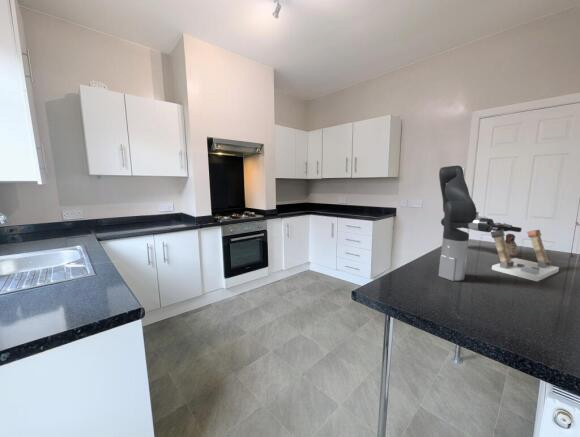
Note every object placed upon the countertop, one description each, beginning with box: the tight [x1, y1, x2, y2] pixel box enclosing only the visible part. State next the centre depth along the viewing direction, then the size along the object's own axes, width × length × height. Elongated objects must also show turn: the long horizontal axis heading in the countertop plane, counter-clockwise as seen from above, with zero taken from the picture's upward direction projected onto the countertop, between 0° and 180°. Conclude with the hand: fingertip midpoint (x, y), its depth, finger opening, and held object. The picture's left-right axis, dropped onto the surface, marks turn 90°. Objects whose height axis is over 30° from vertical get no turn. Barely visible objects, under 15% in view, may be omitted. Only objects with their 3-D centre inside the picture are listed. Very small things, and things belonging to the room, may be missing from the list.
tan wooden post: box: [490, 230, 512, 266], centre depth 115 cm, size 6×3×17 cm, turn 118°
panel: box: [491, 257, 560, 282], centre depth 115 cm, size 24×16×4 cm, turn 118°
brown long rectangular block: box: [526, 229, 550, 266], centre depth 116 cm, size 6×3×17 cm, turn 118°
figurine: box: [505, 233, 518, 257], centre depth 140 cm, size 7×7×12 cm
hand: (520, 230), depth 121 cm, fingers closed
